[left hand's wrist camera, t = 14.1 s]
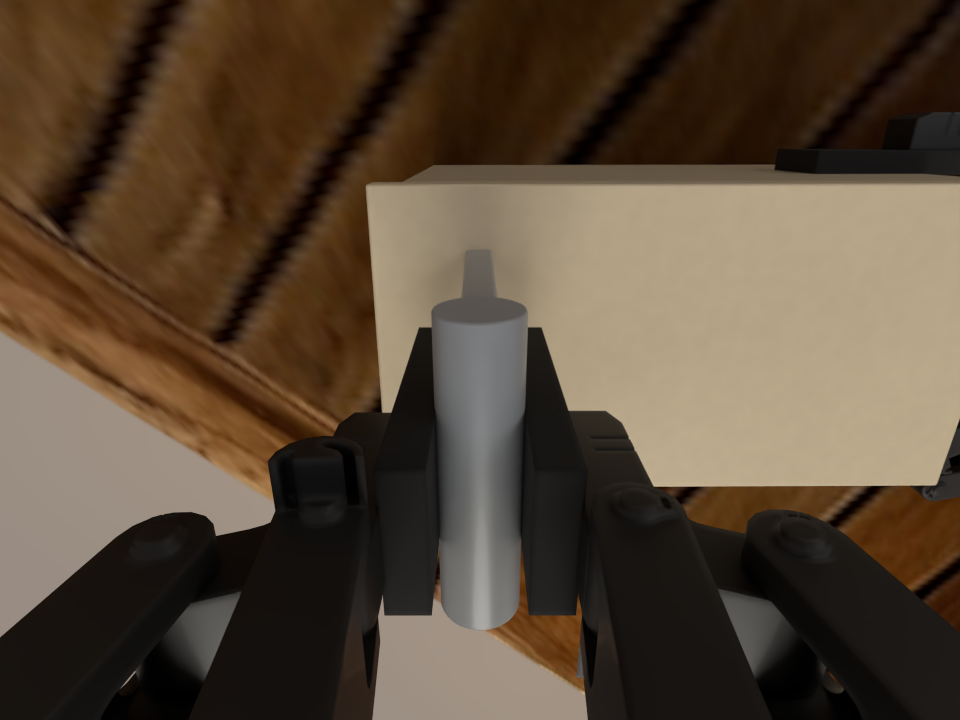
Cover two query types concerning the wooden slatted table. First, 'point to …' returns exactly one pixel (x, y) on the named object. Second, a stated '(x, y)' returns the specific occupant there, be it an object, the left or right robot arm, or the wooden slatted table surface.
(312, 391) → the wooden slatted table surface
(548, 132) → the wooden slatted table surface
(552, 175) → the chest
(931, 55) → the wooden slatted table surface
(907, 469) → the lid
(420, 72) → the wooden slatted table surface
